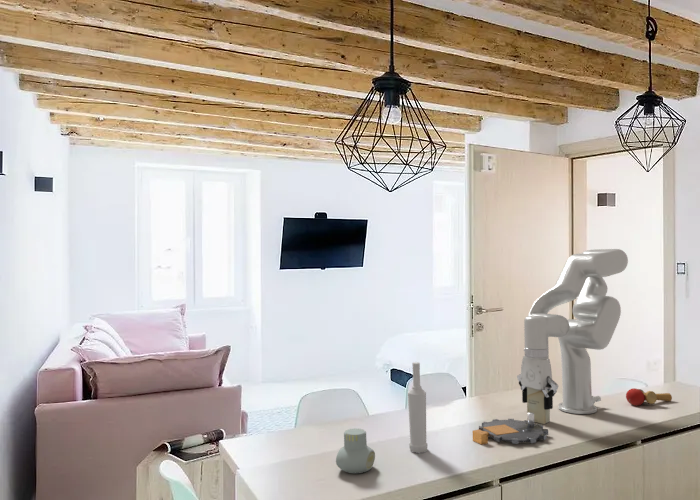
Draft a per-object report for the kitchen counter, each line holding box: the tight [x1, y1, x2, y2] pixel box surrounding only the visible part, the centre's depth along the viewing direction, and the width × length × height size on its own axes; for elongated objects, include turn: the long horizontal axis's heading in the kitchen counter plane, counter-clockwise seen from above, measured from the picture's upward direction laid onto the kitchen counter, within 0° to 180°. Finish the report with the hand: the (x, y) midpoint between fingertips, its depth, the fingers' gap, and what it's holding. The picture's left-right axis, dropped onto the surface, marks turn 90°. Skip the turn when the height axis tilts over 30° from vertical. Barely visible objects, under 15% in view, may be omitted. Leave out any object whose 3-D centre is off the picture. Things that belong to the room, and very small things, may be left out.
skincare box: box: [526, 387, 551, 425], centre depth 183 cm, size 6×4×12 cm
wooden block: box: [472, 428, 489, 446], centre depth 167 cm, size 17×7×3 cm, turn 116°
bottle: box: [407, 361, 428, 454], centre depth 159 cm, size 5×5×25 cm
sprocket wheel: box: [478, 412, 549, 445], centre depth 169 cm, size 20×20×5 cm
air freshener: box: [335, 428, 376, 474], centre depth 145 cm, size 11×8×10 cm
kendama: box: [625, 388, 673, 407], centre depth 200 cm, size 8×6×18 cm
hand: (537, 405), depth 182 cm, fingers open, 9 cm apart
